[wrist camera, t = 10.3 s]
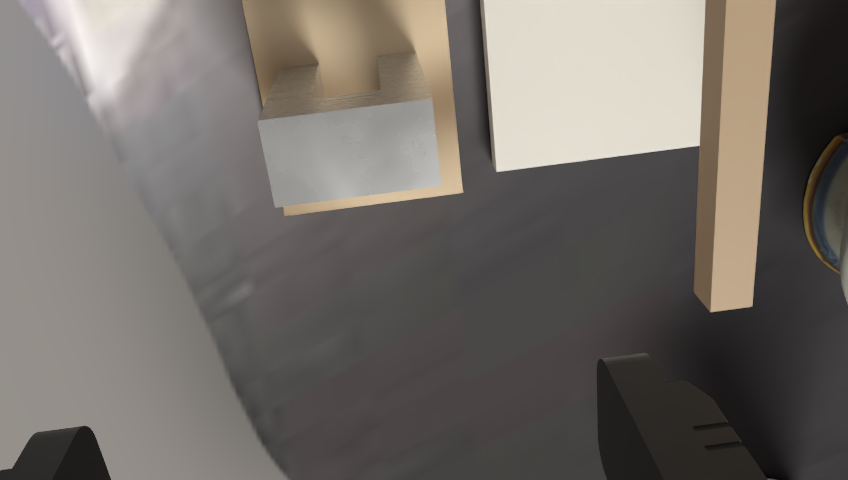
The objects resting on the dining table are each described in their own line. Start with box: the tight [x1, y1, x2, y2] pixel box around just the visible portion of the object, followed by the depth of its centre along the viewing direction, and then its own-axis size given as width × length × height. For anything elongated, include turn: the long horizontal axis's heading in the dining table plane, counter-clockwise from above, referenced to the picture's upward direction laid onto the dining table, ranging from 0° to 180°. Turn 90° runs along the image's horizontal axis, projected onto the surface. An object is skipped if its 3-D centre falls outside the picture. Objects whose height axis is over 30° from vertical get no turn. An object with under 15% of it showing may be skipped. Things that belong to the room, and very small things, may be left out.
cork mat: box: [242, 0, 463, 216], centre depth 33 cm, size 10×8×1 cm
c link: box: [257, 51, 441, 208], centre depth 29 cm, size 3×6×8 cm, turn 96°
